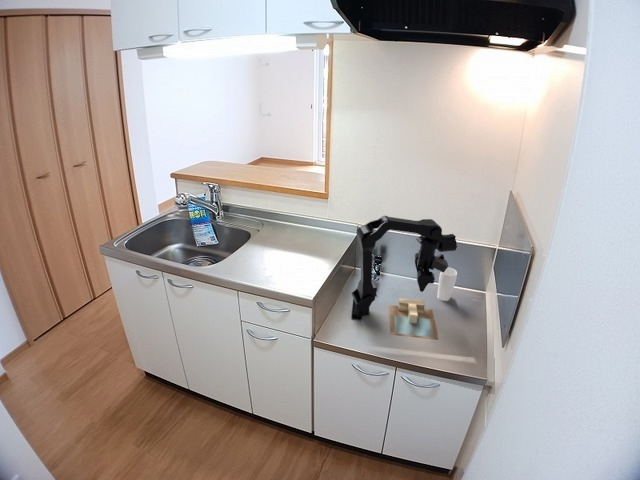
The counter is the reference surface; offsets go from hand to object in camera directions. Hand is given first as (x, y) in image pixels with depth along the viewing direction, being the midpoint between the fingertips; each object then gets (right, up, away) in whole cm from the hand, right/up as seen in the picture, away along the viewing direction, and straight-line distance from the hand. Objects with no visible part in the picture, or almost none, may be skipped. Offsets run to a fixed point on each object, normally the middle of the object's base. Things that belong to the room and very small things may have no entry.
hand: (420, 285), depth 146 cm
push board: (-4, -15, -2) cm, 16 cm away
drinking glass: (+13, -8, +12) cm, 20 cm away
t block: (-4, -12, 0) cm, 13 cm away
